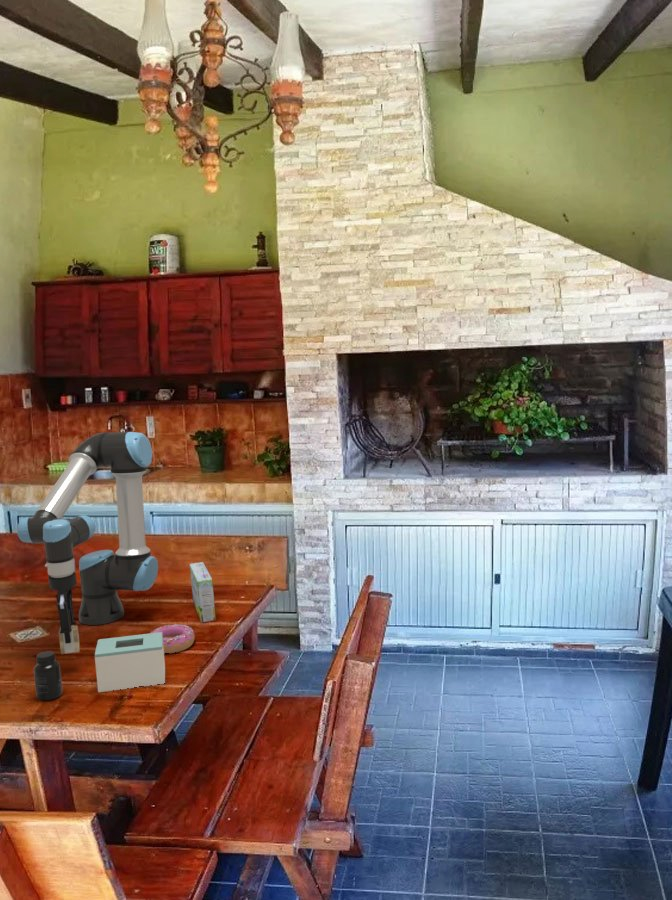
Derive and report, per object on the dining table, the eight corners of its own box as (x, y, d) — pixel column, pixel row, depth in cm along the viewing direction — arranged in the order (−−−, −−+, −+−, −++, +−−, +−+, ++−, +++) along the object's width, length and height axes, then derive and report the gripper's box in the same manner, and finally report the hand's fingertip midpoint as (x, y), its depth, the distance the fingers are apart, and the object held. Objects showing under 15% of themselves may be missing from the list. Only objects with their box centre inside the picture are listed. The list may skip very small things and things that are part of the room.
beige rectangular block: (62, 649, 230) (59, 627, 229) (80, 647, 231) (77, 625, 230) (61, 654, 227) (58, 631, 226) (78, 651, 228) (76, 629, 227)
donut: (204, 642, 247) (203, 627, 246) (172, 659, 235) (171, 643, 234) (171, 634, 255) (170, 619, 254) (138, 650, 243) (137, 635, 242)
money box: (101, 675, 226) (98, 639, 224) (165, 667, 229) (162, 631, 227) (98, 692, 215) (94, 654, 213) (164, 683, 218) (161, 646, 217)
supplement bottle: (67, 694, 215) (63, 653, 213) (44, 704, 210) (39, 661, 208) (55, 687, 219) (50, 647, 217) (31, 696, 214) (27, 655, 212)
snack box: (191, 603, 282) (188, 563, 280) (207, 601, 284) (204, 561, 282) (200, 623, 262) (197, 580, 260) (216, 621, 264) (213, 578, 262)
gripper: (52, 566, 232) (60, 640, 236) (43, 584, 216) (53, 663, 221) (78, 563, 233) (86, 637, 238) (72, 581, 218) (80, 659, 222)
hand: (70, 649), depth 229 cm, fingers closed on beige rectangular block, 3 cm apart
